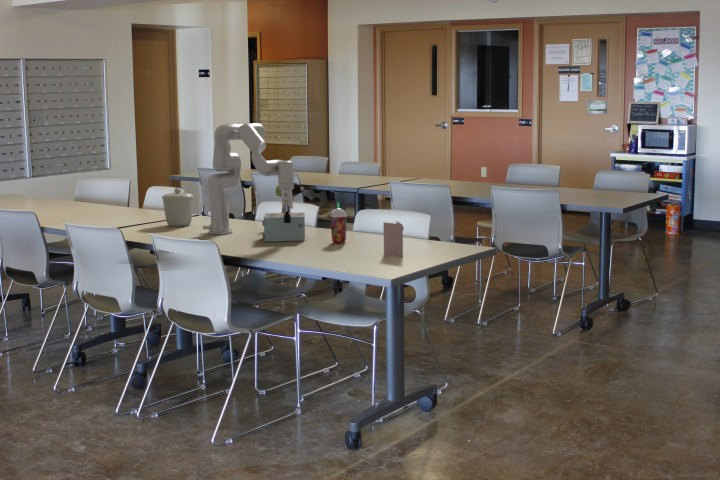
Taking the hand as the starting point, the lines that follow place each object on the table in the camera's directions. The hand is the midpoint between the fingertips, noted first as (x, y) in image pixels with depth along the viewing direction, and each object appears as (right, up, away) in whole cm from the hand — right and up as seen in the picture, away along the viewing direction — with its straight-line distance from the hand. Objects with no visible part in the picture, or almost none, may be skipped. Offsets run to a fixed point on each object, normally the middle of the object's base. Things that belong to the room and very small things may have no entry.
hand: (287, 222), depth 469 cm
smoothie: (+26, -10, -3) cm, 28 cm away
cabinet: (-2, -8, +13) cm, 15 cm away
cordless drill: (-1, -2, +46) cm, 46 cm away
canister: (-66, -1, +62) cm, 91 cm away
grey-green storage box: (-2, -9, +3) cm, 10 cm away
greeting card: (+51, -16, -38) cm, 66 cm away
